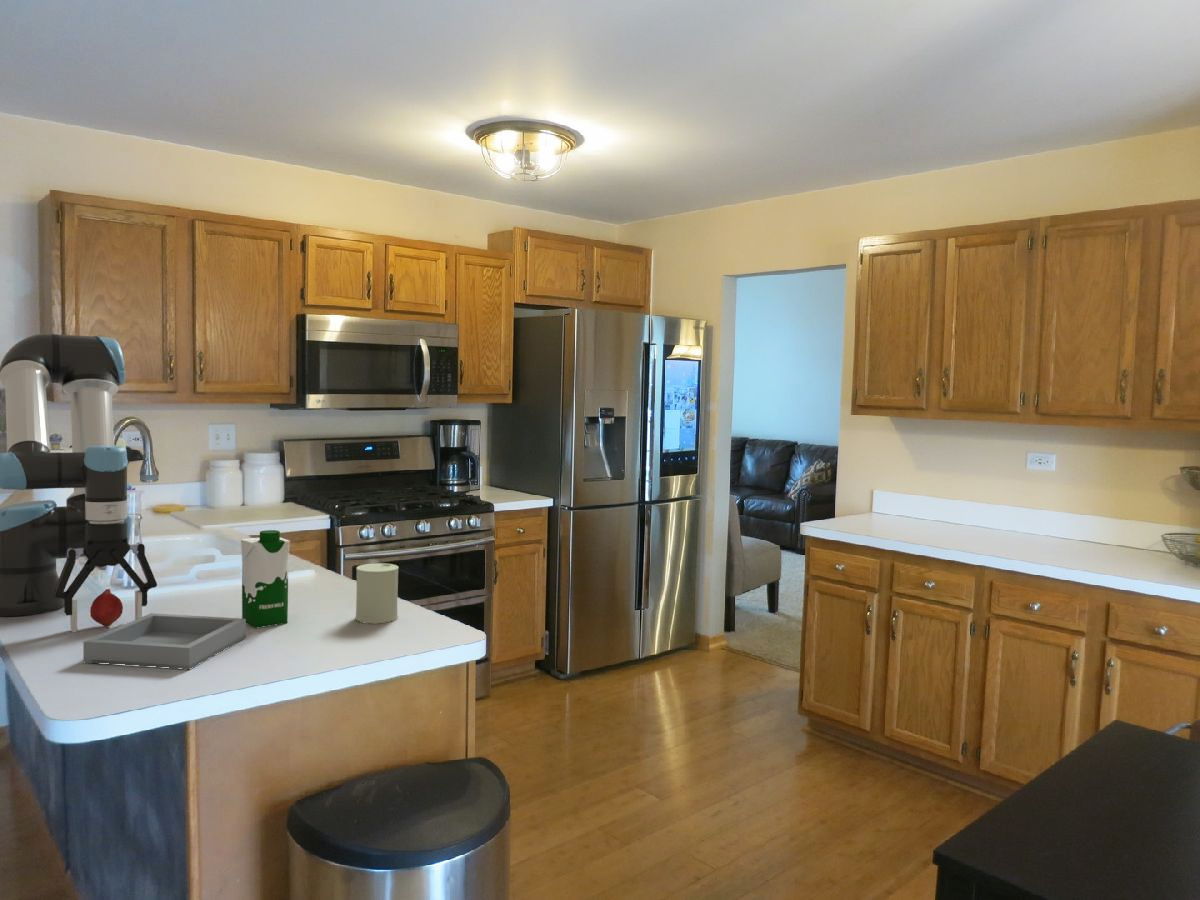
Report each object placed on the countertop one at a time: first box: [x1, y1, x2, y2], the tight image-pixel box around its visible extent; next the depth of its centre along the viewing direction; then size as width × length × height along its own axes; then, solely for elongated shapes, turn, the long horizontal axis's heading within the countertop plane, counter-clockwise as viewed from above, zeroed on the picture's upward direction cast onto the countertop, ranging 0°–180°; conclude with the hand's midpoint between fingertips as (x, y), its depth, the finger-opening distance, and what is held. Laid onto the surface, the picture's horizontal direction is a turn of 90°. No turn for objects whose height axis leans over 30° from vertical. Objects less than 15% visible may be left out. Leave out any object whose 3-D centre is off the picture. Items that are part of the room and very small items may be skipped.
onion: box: [89, 588, 124, 628], centre depth 176 cm, size 6×6×8 cm
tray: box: [82, 612, 247, 670], centre depth 162 cm, size 20×20×4 cm
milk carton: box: [240, 529, 291, 629], centre depth 183 cm, size 9×9×20 cm
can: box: [355, 562, 400, 624], centre depth 189 cm, size 9×9×12 cm
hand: (106, 626), depth 176 cm, fingers open, 11 cm apart
